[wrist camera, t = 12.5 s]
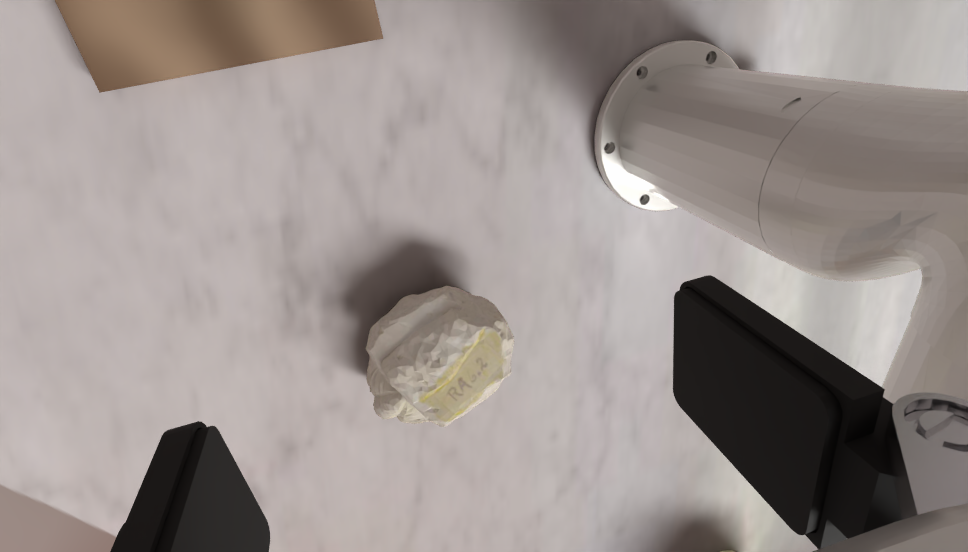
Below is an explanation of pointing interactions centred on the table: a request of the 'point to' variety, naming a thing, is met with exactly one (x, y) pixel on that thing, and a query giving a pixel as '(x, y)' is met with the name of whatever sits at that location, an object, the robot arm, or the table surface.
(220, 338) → the table surface
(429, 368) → the fossil replica
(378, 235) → the table surface
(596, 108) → the table surface
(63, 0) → the spindle stand
